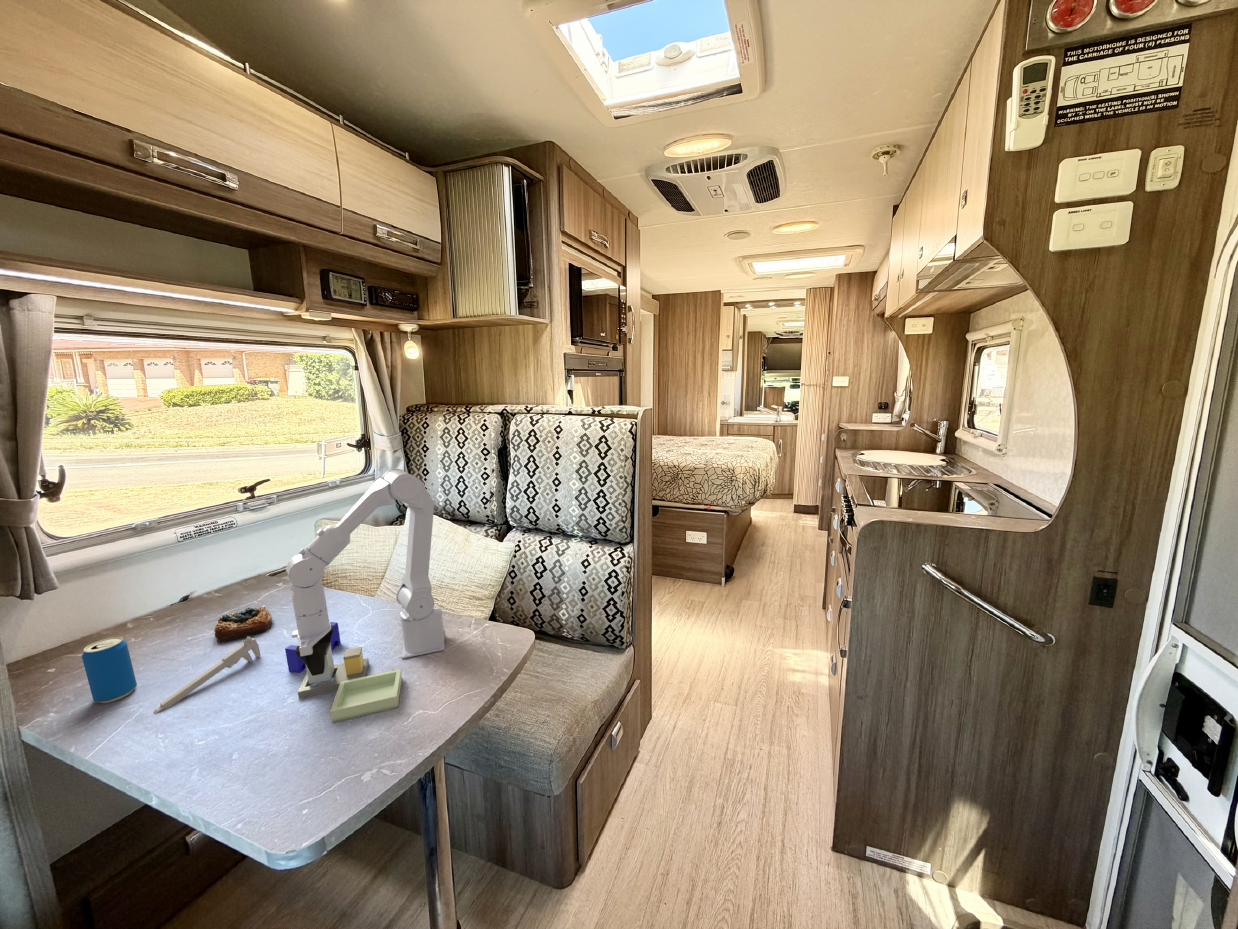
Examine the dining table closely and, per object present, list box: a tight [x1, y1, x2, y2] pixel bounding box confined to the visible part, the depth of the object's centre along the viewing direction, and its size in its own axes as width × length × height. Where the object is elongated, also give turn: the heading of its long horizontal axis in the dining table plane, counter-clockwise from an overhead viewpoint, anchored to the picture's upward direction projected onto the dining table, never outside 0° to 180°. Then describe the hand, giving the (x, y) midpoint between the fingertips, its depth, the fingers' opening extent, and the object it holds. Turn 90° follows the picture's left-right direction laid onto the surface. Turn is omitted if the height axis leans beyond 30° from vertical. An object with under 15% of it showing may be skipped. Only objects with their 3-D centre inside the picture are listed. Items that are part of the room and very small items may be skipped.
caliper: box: [153, 636, 261, 714], centre depth 104 cm, size 20×1×6 cm, turn 162°
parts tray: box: [329, 668, 403, 724], centre depth 97 cm, size 12×10×2 cm
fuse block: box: [297, 646, 370, 699], centre depth 103 cm, size 12×8×6 cm, turn 110°
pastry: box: [213, 606, 273, 644], centre depth 126 cm, size 11×12×6 cm
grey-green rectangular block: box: [305, 642, 335, 685], centre depth 102 cm, size 4×4×7 cm
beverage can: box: [81, 636, 138, 704], centre depth 100 cm, size 6×6×12 cm
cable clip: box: [284, 621, 342, 674], centre depth 112 cm, size 12×4×6 cm, turn 168°
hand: (320, 667), depth 102 cm, fingers closed on grey-green rectangular block, 4 cm apart
